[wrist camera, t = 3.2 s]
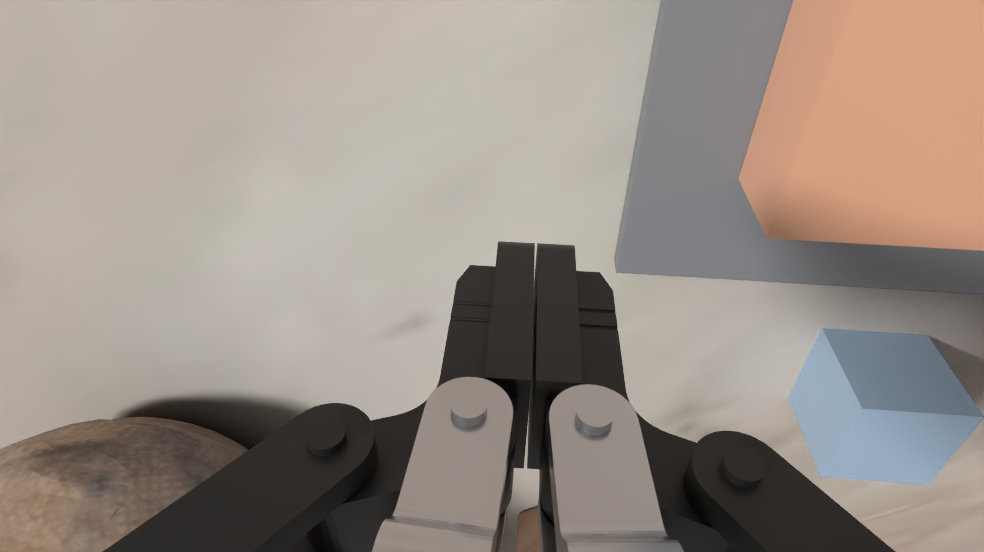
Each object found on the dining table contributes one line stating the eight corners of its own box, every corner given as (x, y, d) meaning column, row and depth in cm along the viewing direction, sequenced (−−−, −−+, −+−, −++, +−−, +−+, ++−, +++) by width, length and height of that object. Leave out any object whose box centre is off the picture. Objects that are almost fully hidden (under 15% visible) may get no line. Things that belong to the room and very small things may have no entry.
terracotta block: (1078, -39, 19) (1185, -4, 15) (949, 190, 24) (1010, 252, 21) (808, -50, 19) (859, -16, 16) (738, 179, 24) (766, 238, 21)
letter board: (1492, -250, 16) (1543, -252, 15) (1069, 285, 27) (1085, 301, 26) (708, -266, 17) (716, -269, 16) (614, 259, 28) (616, 273, 27)
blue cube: (926, 334, 30) (984, 416, 26) (883, 401, 33) (928, 484, 29) (821, 327, 30) (862, 408, 26) (788, 395, 33) (820, 476, 29)
